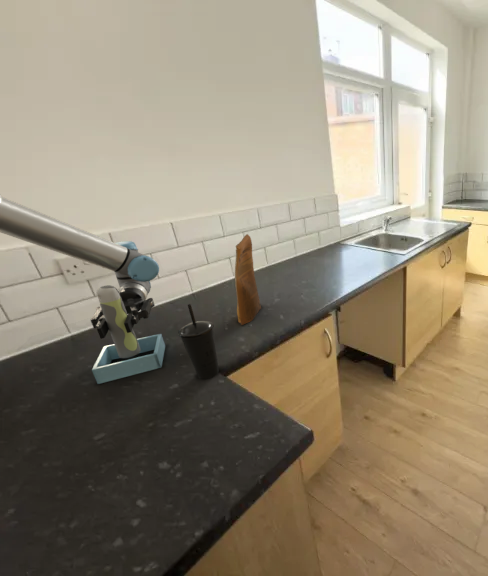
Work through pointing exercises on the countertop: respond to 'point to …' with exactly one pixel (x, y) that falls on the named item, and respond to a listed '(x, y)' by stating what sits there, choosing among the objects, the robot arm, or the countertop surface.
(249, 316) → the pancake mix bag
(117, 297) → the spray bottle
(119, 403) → the countertop surface
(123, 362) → the blue rectangular frame
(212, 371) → the drinking cup
